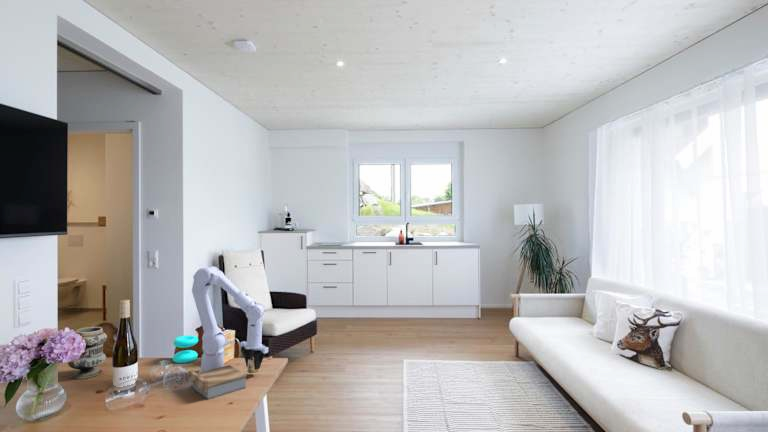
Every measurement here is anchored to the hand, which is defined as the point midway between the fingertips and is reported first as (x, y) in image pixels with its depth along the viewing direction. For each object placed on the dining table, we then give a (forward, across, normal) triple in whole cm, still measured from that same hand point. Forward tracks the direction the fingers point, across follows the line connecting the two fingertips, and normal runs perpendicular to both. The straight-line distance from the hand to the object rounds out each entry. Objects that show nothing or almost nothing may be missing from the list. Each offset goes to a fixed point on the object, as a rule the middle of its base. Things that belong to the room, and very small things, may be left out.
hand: (253, 367), depth 155 cm
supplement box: (+4, -24, +4) cm, 24 cm away
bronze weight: (+2, 0, 0) cm, 2 cm away
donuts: (+4, -39, -5) cm, 39 cm away
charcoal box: (+3, -1, -15) cm, 15 cm away
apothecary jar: (+4, -55, -36) cm, 66 cm away
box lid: (0, -1, -16) cm, 16 cm away
